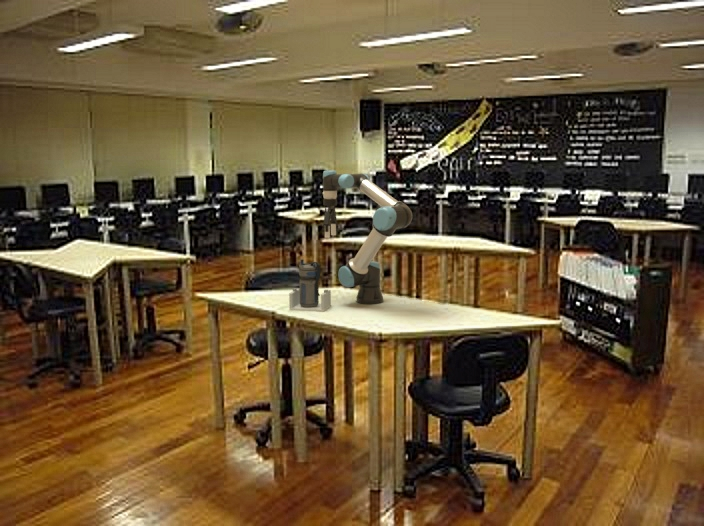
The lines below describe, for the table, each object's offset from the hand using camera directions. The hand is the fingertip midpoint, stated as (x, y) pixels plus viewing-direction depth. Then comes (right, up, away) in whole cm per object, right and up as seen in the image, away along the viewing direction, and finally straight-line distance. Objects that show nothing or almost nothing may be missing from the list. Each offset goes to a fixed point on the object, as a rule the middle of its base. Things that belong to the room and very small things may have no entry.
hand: (330, 236), depth 349 cm
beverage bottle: (-10, -38, -14) cm, 42 cm away
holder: (-10, -39, -14) cm, 43 cm away
